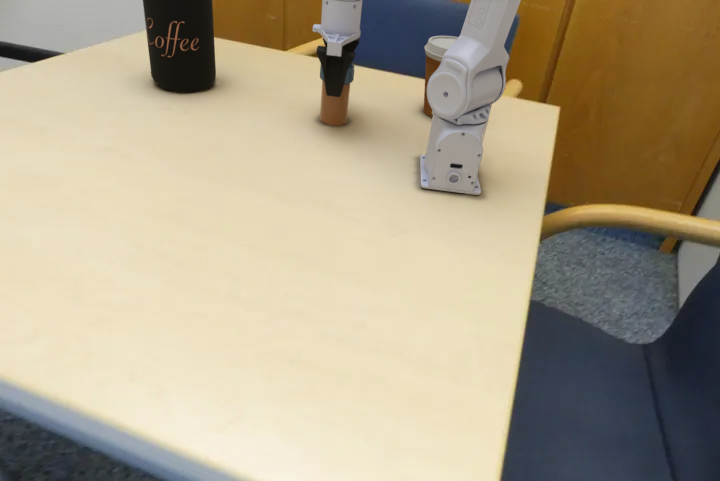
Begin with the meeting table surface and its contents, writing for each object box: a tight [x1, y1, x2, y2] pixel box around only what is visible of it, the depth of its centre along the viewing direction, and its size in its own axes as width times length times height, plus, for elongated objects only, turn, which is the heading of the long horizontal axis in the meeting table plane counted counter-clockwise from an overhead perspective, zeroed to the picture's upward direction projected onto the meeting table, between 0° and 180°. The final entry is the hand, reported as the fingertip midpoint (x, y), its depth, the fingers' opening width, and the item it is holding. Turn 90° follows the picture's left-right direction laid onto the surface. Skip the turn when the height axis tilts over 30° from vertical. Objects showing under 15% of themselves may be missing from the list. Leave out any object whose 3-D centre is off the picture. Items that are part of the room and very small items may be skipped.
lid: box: [319, 62, 355, 84], centre depth 85 cm, size 5×5×2 cm
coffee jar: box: [142, 0, 217, 94], centre depth 91 cm, size 11×11×18 cm
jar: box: [319, 80, 351, 126], centre depth 87 cm, size 4×4×8 cm
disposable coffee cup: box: [423, 35, 459, 118], centre depth 94 cm, size 10×10×12 cm
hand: (335, 89), depth 87 cm, fingers closed on lid, 5 cm apart
